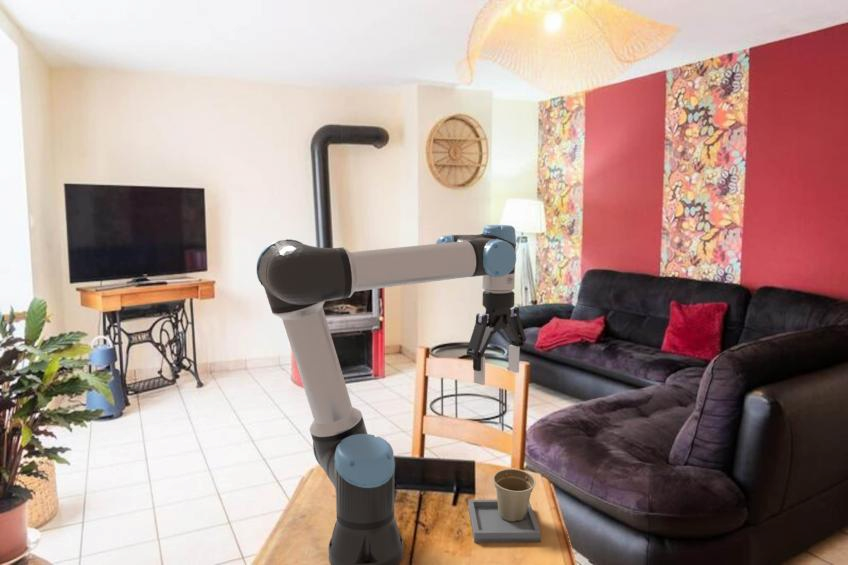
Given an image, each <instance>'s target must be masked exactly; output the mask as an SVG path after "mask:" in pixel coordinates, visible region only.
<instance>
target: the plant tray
mask: <svg viewBox="0 0 848 565" xmlns="http://www.w3.org/2000/svg"><path fill="white" fill-rule="evenodd" d="M468 508H469V509H468V514H469V518H470V520H469V521H470V524H471V530H472V531H471V533H472V536H473V543H476V544H477V543H486V544H487V543H541V540H542V537H541V535H542V532H541V529H540V526H539V524H538V520H537V518H536V516H535V513H534V510H533V508H532V504H531V503H530V501H529V504H528V508H527V513H526V517H525V518H524V519H523V520H521V521H519V520H516V521H514V522H513V521H508V520H505V519H503V518H502V517H501V516H500V514H499V513H498V501H497V499H468Z"/></svg>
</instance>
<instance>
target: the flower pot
mask: <svg viewBox="0 0 848 565" xmlns="http://www.w3.org/2000/svg"><path fill="white" fill-rule="evenodd" d="M492 480H493V481H492V482H493V483H494V488H495V489H496V500H497V501H498V513H499V514H500V516H501V517H502V518H503V519H505V520H508V521H513V522H514V521H516V520H519V521H521V520H523V519H524V518H525V517H526V513H527V508H528V504H529V502H530V500H531V499H530V498H531V495H532V492H533V490H534V488H535V487H536V484H537V482H536V479H535V477H534V476H533V475H532V474H530V473H529V472H528V471H525V470H521V469H519V468H505V469H500V470H498V471H497V472H496V473H494V475H493V476H492Z"/></svg>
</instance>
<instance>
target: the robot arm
mask: <svg viewBox="0 0 848 565" xmlns="http://www.w3.org/2000/svg"><path fill="white" fill-rule="evenodd" d="M516 236H517V234H516V229H515V227H514V226H512V225H509V224H489V225H488V224H487V225H485V226H484V227H483V231H482V233H478V234H448V235H442V236H441V235H440V236H439V237H438V238H437V240H436V242H435V243H432V244H431V243H430V244H421V245H411V246H398V247H391V248H390V247H388V248H380V249H378V248H377V249H370V250H368V249H367V250H357V251H349V250H348V249H347V248H346V247H320V246H312V245H309V244H304V243H303V242H301V241H299V240H295V239H288V238H286V239H282V240H281V239H280V240H275V241H274V242H272V243H270V244H268V245H267V246H266V247H264V249H262V251H261V252H260V254H259V256H258V258H257V262H256V275H257V279H258V282H259V283H260V285H261V286H262V287H263V288H264V291H265V294H266V298H267V301H268V304H269V306H270V310H271V312H272V314H273V315H275V316H276V317H278V318H281V320H282V323H283V326H284V330H285V331H286V335H287V336H286V337H287V339H288V342H289V345H290V348H291V351H292V354H293V358H294V361H295V364H296V367H297V370H298V373H299V377H300V380H301V383H302V386H303V389H304V392H305V396H306V399H307V402H308V405H309V406H308V407H309V408H310V411H311V415H312V418H313V421H312V422H311V424H310V427H309V432H310V436H311V438H312V449H313V454H314V457H315V460H316V461H317V463H318V465H319V466H320V467H321V468H322V470H323V471H324V472H325V475H326V476H327V477H328V478H329V481H330V482H331V484H332V485H333V487H334V489H335V494H336V495H335V500H336V501H335V506H336V508H335V509H336V520H335V524H334V527H333V530H332V535H331V538H330V539H329V543H328V561H329V564H330V565H399V564H400V563H401V561H402V560H403V557H404V540H403V537H402V535H401V534H400V530H399V526H398V523H397V521H396V517H395V470H396V461H395V455H394V454H395V453H394V449H393V447H392V445H391V444H390V442H388V441H387V440H386V439H385V438H382V437H381V436H375V435H373V434H369V433H368V431H367V430H368V429H367V427H366V424H365V420H364V417H363V413H362V411H361V410H360V409H358V408H355V407H353V405H352V402H351V398H350V394H349V392H348V387H347V385H346V382H345V378H344V375H343V370H342V367H341V364H340V361H339V357H338V354H337V351H336V347H335V344H334V340H333V337H332V333H331V331H330V327H329V325H328V320H327V317H326V313H325V311H324V304H326V303H325V302H328V301H336V300H342V299H348V298H351V297H352V296H353V294H354V293H355V292H362V291H363V292H364V291H370V290H377V289H384V288H391V287H392V288H393V287H401V286H407V285H415V284H424V283H430V282H431V283H433V282H440V281H447V280H456V279H462V278H463V279H464V278H472V277H473V278H474V277H481V276H482V289H483V291H482V306H483V308H485V313H484V314H483V313H477V314H476V315H475V324H474V327H473V330H472V334H471V337H470V340H469V344H468V347H467V350H466V355H468V356H471V357H472V369H473V383H474V384H477V385H482V386H484V385H486V383H485V382H486V357H485V356H484V355H485V352H486V350H487V347H488V345H489V344H490V342H491V340H492V337H493V335H494V334H496V333H497V332H498V331H500V330H503V332H504V333H505V335H506V337H507V339H508V340H509V342H510V345H508V371H510V372H512V373H516V374H517V373H519V372H520V358H521V357H520V356H521V347H524V346H525V342H527V341H526V340H527V337H526V334H525V331H524V330H525V329H524V327H523V324H522V320H521V318H520V309H519V307H517V306H515V292H514V291H513V290H514V289H515V276H516V274H515V273H516V263H517V253H516V247H517V239H516V238H517V237H516Z"/></svg>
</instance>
